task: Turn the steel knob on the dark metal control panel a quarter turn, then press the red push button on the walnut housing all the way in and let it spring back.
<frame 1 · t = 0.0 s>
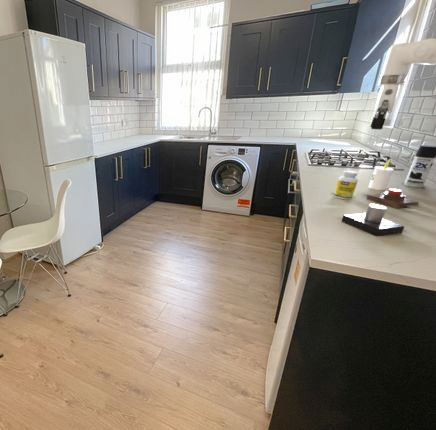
hand: (375, 128, 112), 29 cm above the countertop, tool pointing down, fingers open, 9 cm apart
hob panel: (370, 227, 95), on the countertop
button housing: (390, 202, 117), on the countertop
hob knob: (375, 213, 93), point 5 cm above the countertop, hinge at 0.0°
start button: (394, 192, 115), point 5 cm above the countertop, slide at 0.1 cm
spray can: (412, 187, 137), on the countertop
pill bottle: (342, 197, 124), on the countertop
candle: (375, 190, 134), on the countertop
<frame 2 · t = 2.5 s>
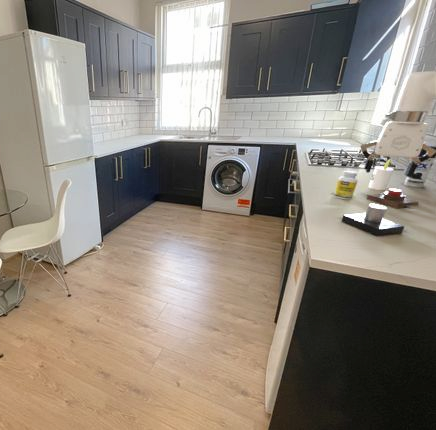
hand: (386, 173, 90), 18 cm above the countertop, tool pointing down, fingers open, 9 cm apart
nothing on the countertop moved.
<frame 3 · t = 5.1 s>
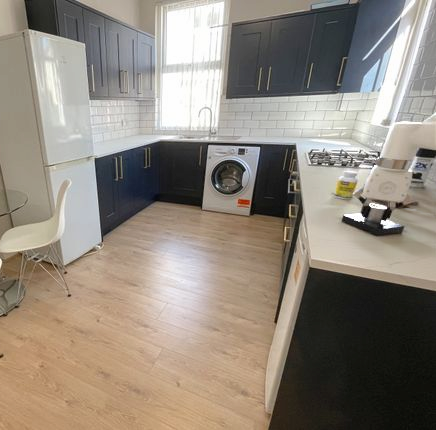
hand: (373, 217, 93), 4 cm above the countertop, tool pointing down, fingers closed on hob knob, 4 cm apart
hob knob: (375, 213, 93), point 5 cm above the countertop, hinge at -0.1°, touching gripper
everything else where it was.
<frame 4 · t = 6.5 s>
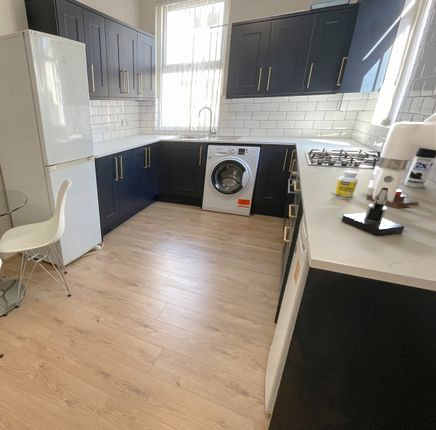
hand: (373, 217, 93), 4 cm above the countertop, tool pointing down, fingers closed on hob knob, 4 cm apart
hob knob: (375, 213, 93), point 5 cm above the countertop, hinge at 80.7°, touching gripper
everything else where it was.
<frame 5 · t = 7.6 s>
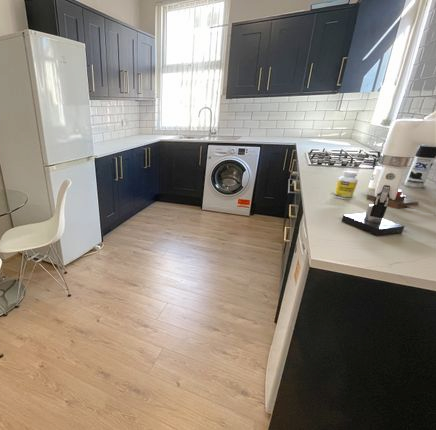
hand: (377, 212, 92), 5 cm above the countertop, tool pointing down, fingers open, 9 cm apart
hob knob: (375, 213, 93), point 5 cm above the countertop, hinge at 82.0°
everything else where it was.
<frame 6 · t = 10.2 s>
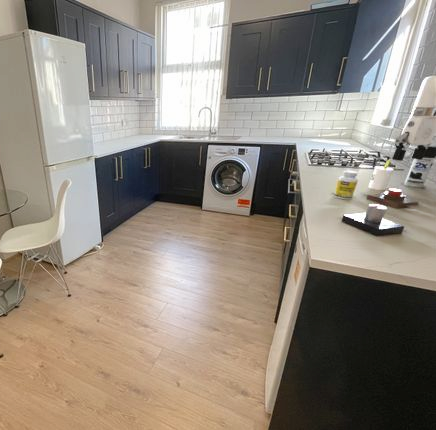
hand: (406, 159, 109), 18 cm above the countertop, tool pointing down, fingers open, 9 cm apart
nothing on the countertop moved.
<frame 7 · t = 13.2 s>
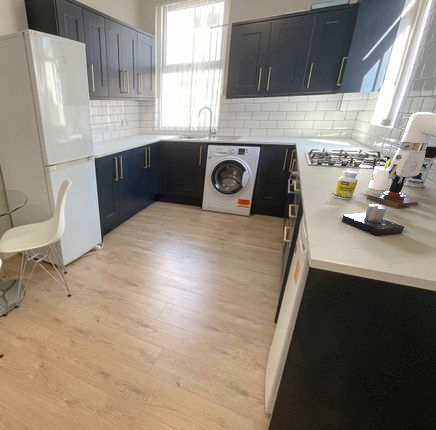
hand: (394, 191, 115), 5 cm above the countertop, tool pointing down, fingers closed
start button: (393, 194, 115), point 4 cm above the countertop, slide at -0.8 cm, touching gripper
everything else where it was.
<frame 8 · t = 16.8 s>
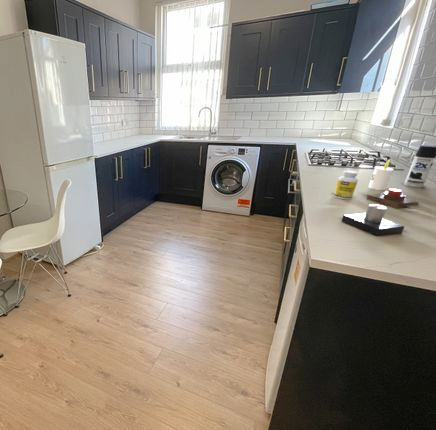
start button: (394, 192, 115), point 5 cm above the countertop, slide at 0.1 cm
everything else where it was.
at the end: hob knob at +82° (first picture: +0°); start button pushed in 1.1 cm at the most during the clip, back to where it started at the end; start button slide at 0.1 cm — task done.
